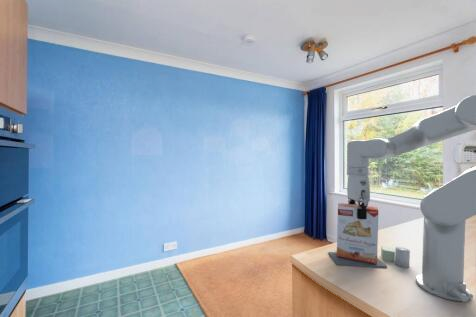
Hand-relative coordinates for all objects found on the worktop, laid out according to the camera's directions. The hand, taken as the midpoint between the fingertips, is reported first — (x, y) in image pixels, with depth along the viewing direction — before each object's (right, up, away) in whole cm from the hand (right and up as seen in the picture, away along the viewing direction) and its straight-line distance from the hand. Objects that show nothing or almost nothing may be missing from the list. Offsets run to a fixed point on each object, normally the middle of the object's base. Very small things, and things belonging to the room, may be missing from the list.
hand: (356, 215), depth 87 cm
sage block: (+14, -18, +2) cm, 23 cm away
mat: (0, -18, 0) cm, 18 cm away
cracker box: (0, -17, 0) cm, 17 cm away
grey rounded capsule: (+16, -18, -3) cm, 24 cm away
